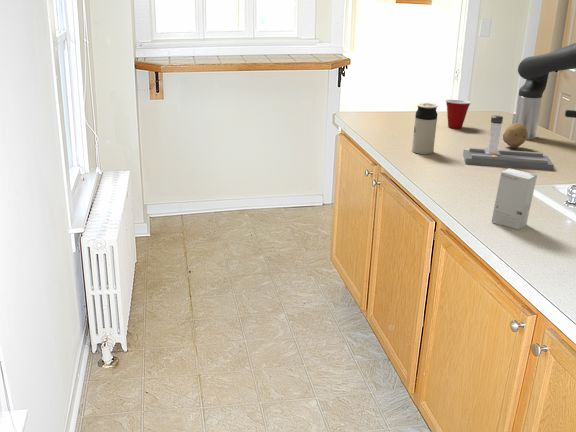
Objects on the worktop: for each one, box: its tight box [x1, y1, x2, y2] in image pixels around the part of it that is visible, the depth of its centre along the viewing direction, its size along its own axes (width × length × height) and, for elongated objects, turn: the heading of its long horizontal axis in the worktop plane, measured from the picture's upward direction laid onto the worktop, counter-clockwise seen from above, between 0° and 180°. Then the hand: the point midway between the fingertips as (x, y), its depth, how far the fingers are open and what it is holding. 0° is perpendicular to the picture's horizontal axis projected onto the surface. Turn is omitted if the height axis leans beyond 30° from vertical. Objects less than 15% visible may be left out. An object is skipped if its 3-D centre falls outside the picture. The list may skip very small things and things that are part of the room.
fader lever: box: [483, 115, 504, 156], centre depth 238 cm, size 5×6×14 cm
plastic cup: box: [444, 99, 472, 130], centre depth 288 cm, size 11×11×12 cm
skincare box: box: [491, 167, 538, 230], centre depth 181 cm, size 8×6×15 cm
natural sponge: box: [502, 123, 528, 149], centre depth 258 cm, size 9×9×10 cm
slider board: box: [462, 147, 554, 171], centre depth 240 cm, size 30×12×3 cm, turn 80°
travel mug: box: [411, 102, 439, 155], centre depth 248 cm, size 8×8×18 cm
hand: (565, 113), depth 231 cm, fingers closed
